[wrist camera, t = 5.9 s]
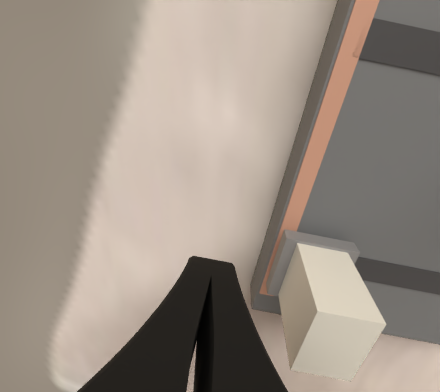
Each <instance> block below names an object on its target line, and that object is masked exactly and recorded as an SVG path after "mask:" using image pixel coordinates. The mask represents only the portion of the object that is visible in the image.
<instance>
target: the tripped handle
mask: <svg viewBox="0 0 440 392" xmlns="http://www.w3.org/2000/svg"><path fill="white" fill-rule="evenodd" d="M359 254H360V251H359V250H358V248H357V247H356V245H355V243H353V242H348V241H343V240H338V239H333V238H327V237H322V236H317V235H312V234H307V233H302V232H297V231H292V230H287V229H284V232H283V235H282V237H281V240H280V243H279V246H278V249H277V252H276V255H275V258H274V261H273V264H272V267H271V270H270V273H269V276H268V279H267V282H266V287H267V294H269V295H274V296H279V302H280V308H281V315H282V321H283V327H284V334H285V340H286V347H287V353H288V359H289V366H290V370H291V371H296V372H301V373H307V374H312V375H318V376H323V377H329V378H334V379H339V380H345V381H350V382H351V381H352V379H353V377H354V376H355V374H356V373H357V371H358V369H359V368H360V366H361V364H362V363H363V361H364V360H365V358H366V356H367V355H368V353H369V352H370V350H371V348H372V347H373V345H374V344H375V342H376V340H377V339H378V337H379V336H380V334H381V332H382V331H383V329H384V328H385V326H386V322H385V321H384V319H383V317H382V315H381V313H380V311H379V309H378V308H377V306H376V304H375V302H374V300H373V298H372V296H371V295H370V293H369V291H368V289H367V287H366V285H365V284H364V282H363V280H362V278H361V276H360V274H359V272H358V271H357V269H356V267H355V265H354V264H355V262H356V260H357V258H358V256H359Z"/></svg>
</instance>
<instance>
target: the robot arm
mask: <svg viewBox="0 0 440 392" xmlns="http://www.w3.org/2000/svg"><path fill="white" fill-rule="evenodd" d="M196 341H197V346H196V360H195V375H194V391H193V392H288V391H287V389H286V387H285V386H284V384H283V382H282V380H281V378H280V377H279V375H278V373H277V371H276V369H275V367H274V365H273V363H272V361H271V359H270V357H269V355H268V353H267V351H266V349H265V347H264V345H263V343H262V341H261V339H260V337H259V334H258V332H257V330H256V327H255V325H254V323H253V320H252V318H251V315H250V313H249V310H248V308H247V305H246V303H245V300H244V297H243V294H242V291H241V288H240V285H239V282H238V278H237V275H236V271H235V267H234V265H233V264H232V263H228V262H223V261H218V260H212V259H207V258H202V257H197V256H192V257H190V258H189V260H188V263H187V265H186V267H185V269H184V270H183V272H182V274H181V275H180V277H179V279H178V280H177V282H176V283H175V285H174V286H173V288H172V289H171V290H170V292H169V293H168V295H167V296H166V297H165V299H164V300H163V302H162V303H161V304H160V305H159V307H158V308H157V309H156V310H155V312H154V313H153V314H152V315H151V316H150V318H149V319H148V320H147V321H146V322H145V324H144V325H143V326H142V327H141V328H140V329H139V331H138V332H137V333H136V334H135V335H134V336H133V337H132V338H131V339H130V341H129V342H128V343H127V344H126V345H125V346H124V347H123V348H122V349H121V350H120V351H119V352H118V353H117V354H116V355H115V356H114V357H113V358H112V359H111V360H110V361H109V362H108V363H107V364H106V365H105V366H104V367H103V368H102V369H101V370H100V371H99V372H98V373H97V374H96V375H95V376H93V377H92V378H91V379H90V380H89V381H88V382H87V383H86V384H85V385H84V386H83V387H82V388H81V389H80V390H78V391H77V392H186V390H187V383H188V376H189V369H190V365H191V361H192V357H193V353H194V349H195V345H196Z"/></svg>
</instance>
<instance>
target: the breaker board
mask: <svg viewBox="0 0 440 392" xmlns="http://www.w3.org/2000/svg"><path fill="white" fill-rule="evenodd" d="M284 229H287V230H292V231H297V232H302V233H307V234H312V235H317V236H322V237H327V238H333V239H338V240H343V241H348V242H353V243H355V245H356V247H357V248H358V250H359V251H360V254H359V256H358V258H357V260H356V262H355V264H354V265H355V267H356V269H357V271H358V272H359V274H360V276H361V278H362V280H363V282H364V284H365V285H366V287H367V289H368V291H369V293H370V295H371V296H372V298H373V300H374V302H375V304H376V306H377V308H378V309H379V311H380V313H381V315H382V317H383V319H384V321H385V322H386V326H385V328H384V329H383V331H382V332H381V333H382V334H387V335H392V336H398V337H403V338H408V339H414V340H419V341H424V342H429V343H435V344H440V0H338V1H337V5H336V8H335V11H334V14H333V18H332V21H331V24H330V27H329V31H328V34H327V37H326V41H325V44H324V47H323V50H322V54H321V57H320V60H319V63H318V67H317V70H316V73H315V76H314V80H313V83H312V86H311V89H310V93H309V96H308V99H307V103H306V106H305V109H304V112H303V116H302V119H301V122H300V125H299V129H298V132H297V135H296V138H295V142H294V145H293V148H292V151H291V155H290V158H289V161H288V165H287V168H286V171H285V174H284V178H283V181H282V184H281V187H280V191H279V194H278V197H277V200H276V204H275V207H274V210H273V213H272V217H271V220H270V223H269V227H268V230H267V233H266V236H265V240H264V243H263V246H262V249H261V253H260V256H259V259H258V262H257V266H256V269H255V272H254V275H253V279H252V282H251V306H252V309H255V310H260V311H265V312H271V313H276V314H281V308H280V302H279V296H274V295H269V294H267V287H266V282H267V279H268V276H269V273H270V270H271V267H272V264H273V261H274V258H275V255H276V252H277V249H278V246H279V243H280V240H281V237H282V235H283V232H284Z"/></svg>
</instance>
